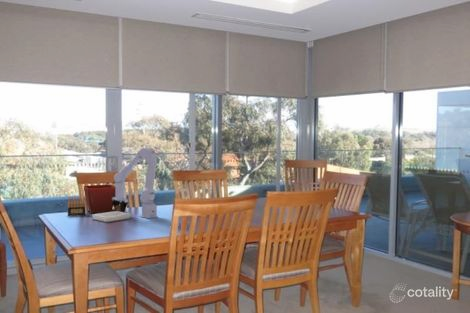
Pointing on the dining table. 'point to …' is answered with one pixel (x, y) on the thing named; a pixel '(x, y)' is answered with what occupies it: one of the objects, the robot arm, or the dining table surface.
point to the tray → (111, 216)
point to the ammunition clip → (72, 207)
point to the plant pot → (99, 197)
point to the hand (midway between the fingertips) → (119, 212)
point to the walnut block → (118, 208)
